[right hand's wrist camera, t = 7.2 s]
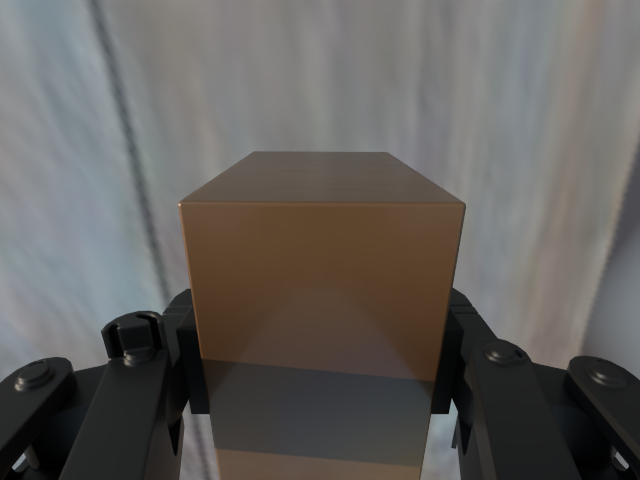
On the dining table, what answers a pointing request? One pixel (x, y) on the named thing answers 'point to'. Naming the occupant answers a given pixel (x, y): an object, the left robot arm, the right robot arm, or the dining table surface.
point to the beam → (321, 312)
